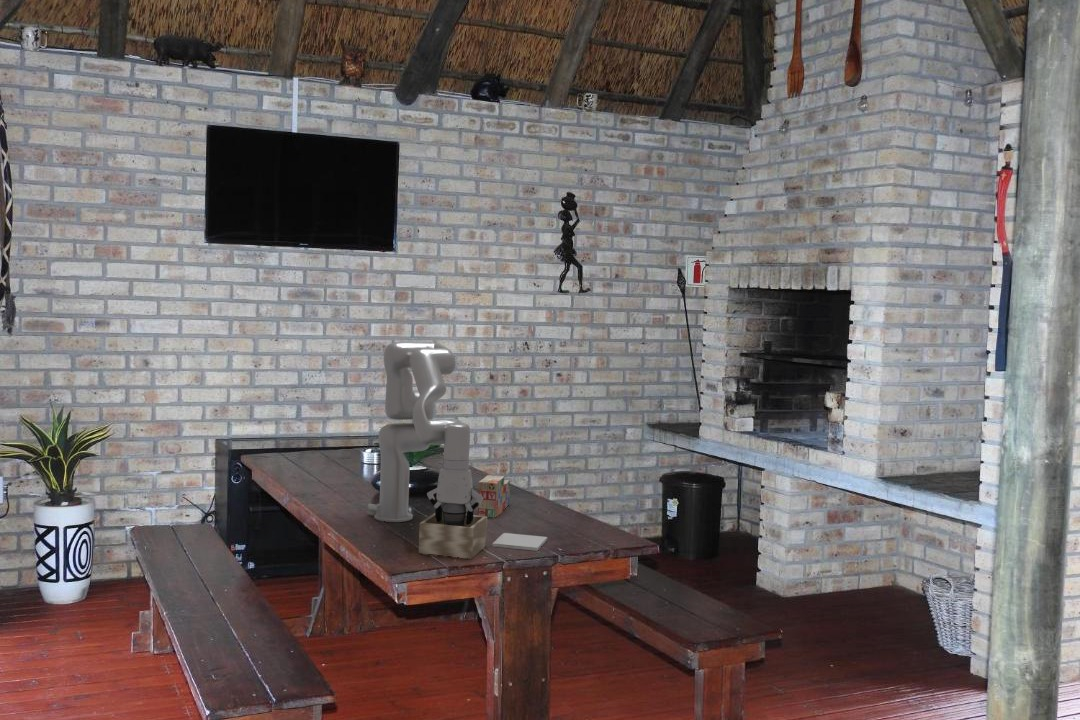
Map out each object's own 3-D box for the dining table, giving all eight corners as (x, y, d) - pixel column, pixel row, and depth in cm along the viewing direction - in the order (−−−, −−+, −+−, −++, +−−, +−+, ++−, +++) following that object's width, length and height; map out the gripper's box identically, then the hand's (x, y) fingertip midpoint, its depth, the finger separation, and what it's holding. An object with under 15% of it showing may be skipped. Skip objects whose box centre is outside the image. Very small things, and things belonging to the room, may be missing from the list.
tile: (492, 546, 328) (492, 543, 327) (503, 535, 341) (503, 532, 341) (537, 551, 325) (537, 547, 324) (547, 540, 338) (547, 537, 338)
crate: (418, 553, 316) (419, 523, 315) (435, 540, 331) (436, 511, 331) (471, 558, 312) (472, 528, 312) (485, 545, 328) (487, 516, 327)
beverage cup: (440, 546, 325) (443, 480, 324) (465, 546, 326) (467, 481, 324) (440, 552, 318) (442, 485, 316) (465, 553, 319) (467, 486, 317)
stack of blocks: (492, 504, 388) (493, 470, 387) (509, 505, 386) (510, 471, 385) (477, 516, 367) (478, 481, 366) (495, 518, 365) (496, 482, 364)
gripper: (424, 464, 318) (422, 522, 319) (481, 469, 314) (478, 527, 316) (432, 460, 325) (430, 517, 327) (487, 465, 322) (485, 522, 323)
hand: (454, 522), depth 321 cm, fingers open, 8 cm apart
